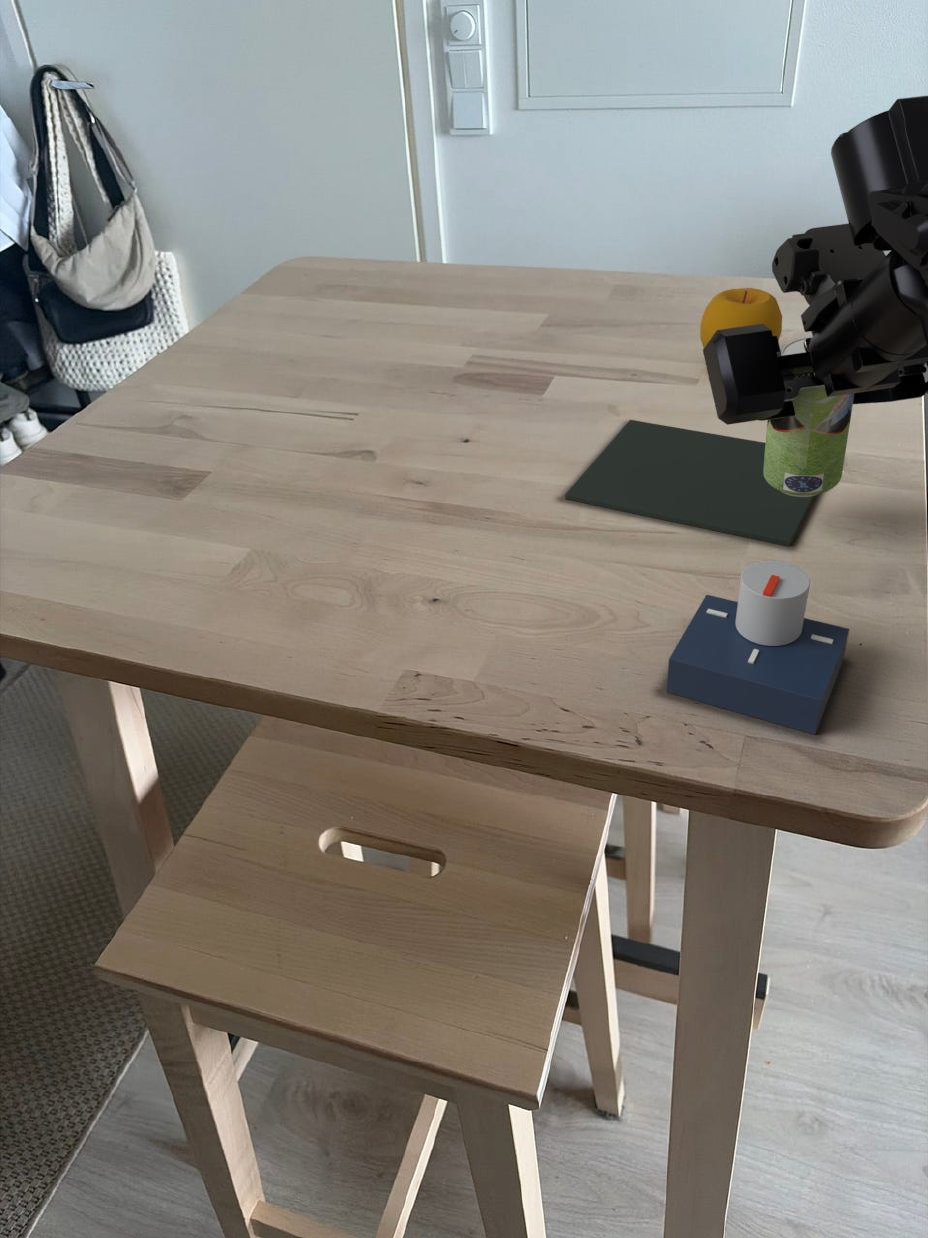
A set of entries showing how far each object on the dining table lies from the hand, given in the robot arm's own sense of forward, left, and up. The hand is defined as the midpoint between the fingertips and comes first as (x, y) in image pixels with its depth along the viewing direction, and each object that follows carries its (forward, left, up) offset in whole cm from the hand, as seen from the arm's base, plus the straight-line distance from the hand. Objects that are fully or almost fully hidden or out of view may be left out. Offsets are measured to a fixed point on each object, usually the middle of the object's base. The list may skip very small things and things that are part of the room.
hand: (794, 404), depth 77 cm
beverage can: (-1, +1, -7) cm, 7 cm away
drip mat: (+8, -5, -11) cm, 15 cm away
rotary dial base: (-4, +19, -11) cm, 22 cm away
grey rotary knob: (-4, +18, -8) cm, 20 cm away
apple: (+12, -29, -11) cm, 34 cm away
